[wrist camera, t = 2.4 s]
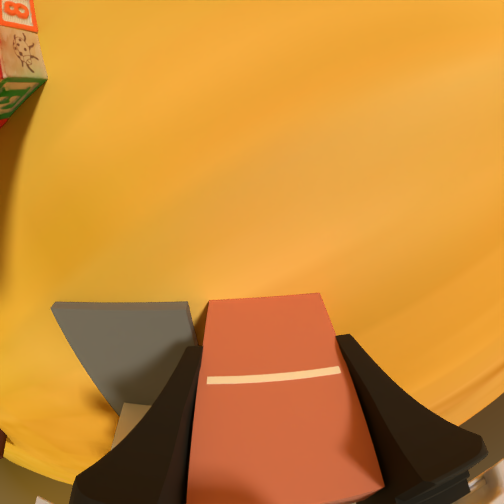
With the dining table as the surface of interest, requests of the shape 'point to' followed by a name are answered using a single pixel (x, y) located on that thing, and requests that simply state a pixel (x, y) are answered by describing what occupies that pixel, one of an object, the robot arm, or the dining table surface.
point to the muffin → (2, 443)
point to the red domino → (277, 409)
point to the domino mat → (127, 345)
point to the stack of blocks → (18, 55)
